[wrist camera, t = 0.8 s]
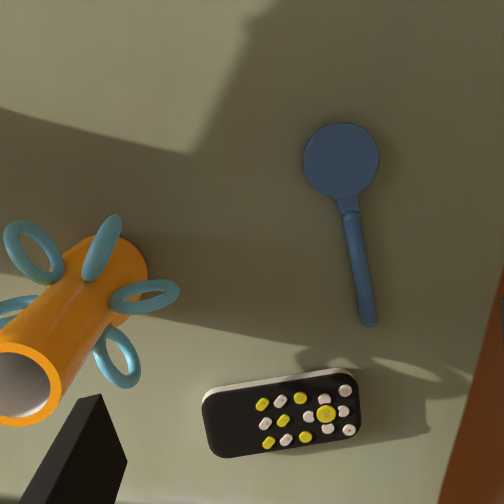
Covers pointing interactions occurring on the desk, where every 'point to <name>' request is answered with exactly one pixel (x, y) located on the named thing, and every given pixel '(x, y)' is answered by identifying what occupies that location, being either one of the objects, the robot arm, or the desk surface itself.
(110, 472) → the robot arm
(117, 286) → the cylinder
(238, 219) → the desk surface
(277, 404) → the remote control
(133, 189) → the desk surface
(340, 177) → the blue disc with handle
